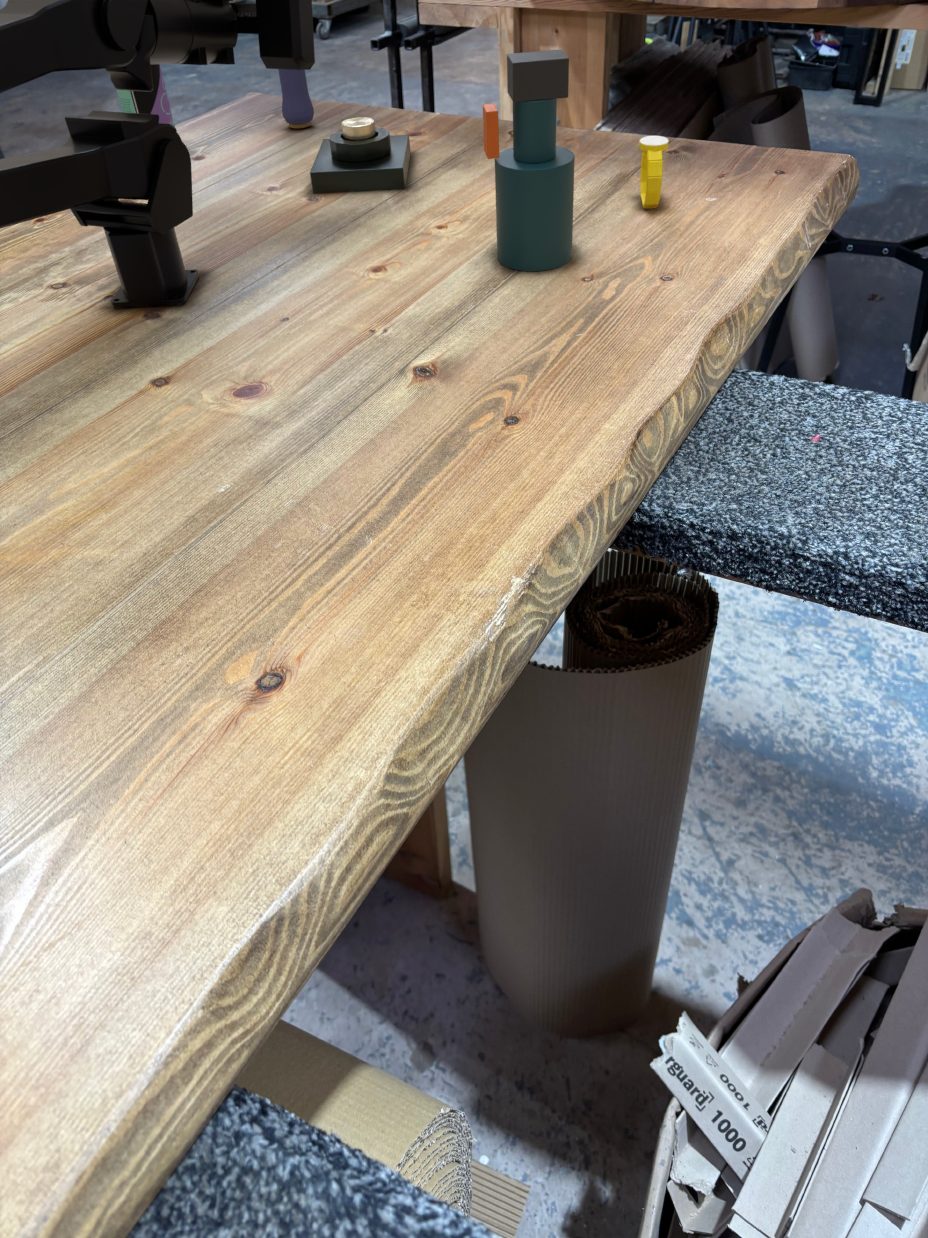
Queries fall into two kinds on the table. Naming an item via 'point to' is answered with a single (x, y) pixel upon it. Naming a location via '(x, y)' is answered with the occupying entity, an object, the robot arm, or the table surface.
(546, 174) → the spray bottle
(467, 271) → the table surface
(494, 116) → the block
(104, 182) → the robot arm
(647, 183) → the watch
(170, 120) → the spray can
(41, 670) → the table surface
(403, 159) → the switch block
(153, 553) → the table surface
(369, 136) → the button
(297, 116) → the purple vase
